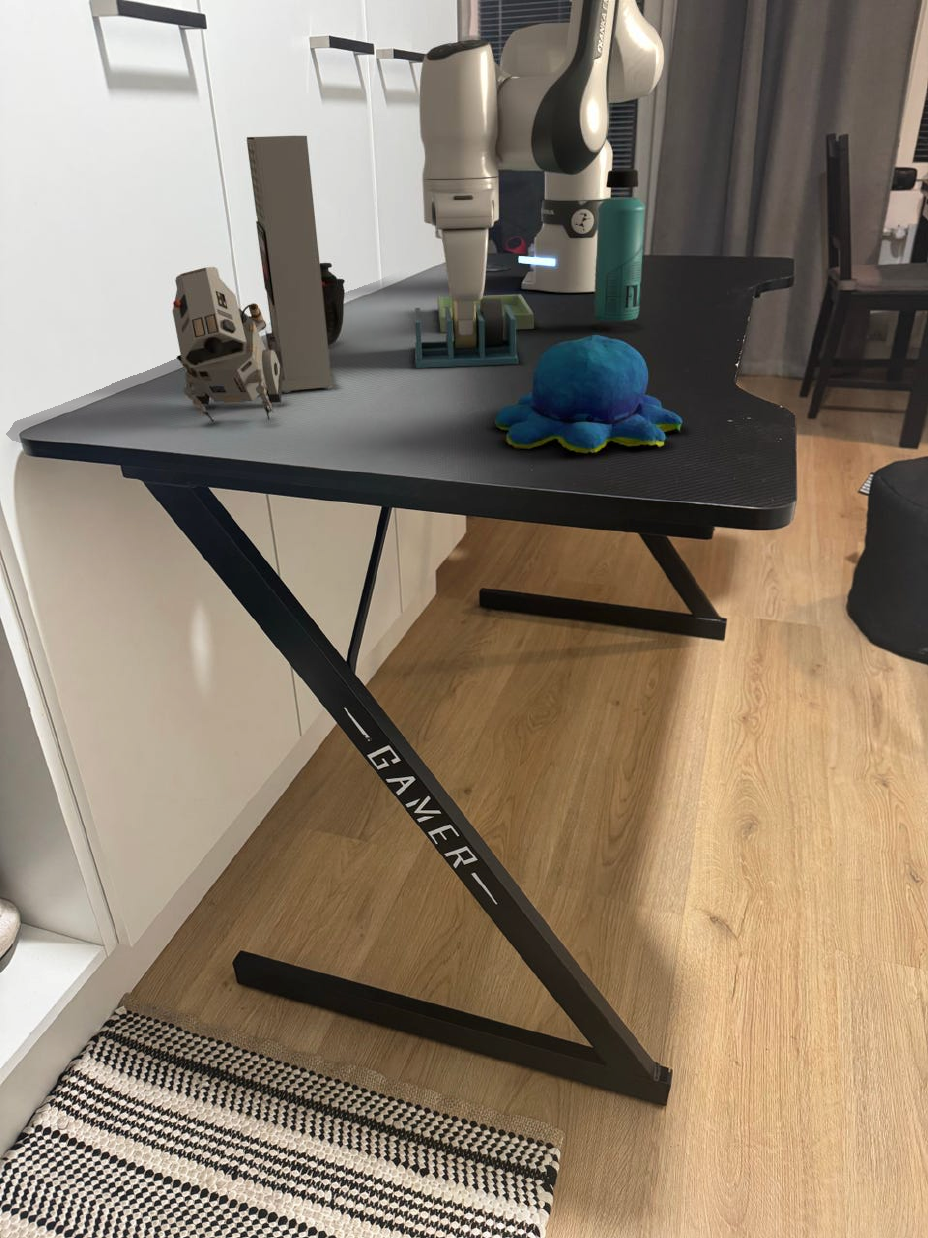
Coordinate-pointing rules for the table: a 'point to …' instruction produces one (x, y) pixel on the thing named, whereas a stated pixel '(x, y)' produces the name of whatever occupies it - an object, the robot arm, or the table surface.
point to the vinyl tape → (492, 321)
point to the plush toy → (588, 400)
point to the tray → (513, 301)
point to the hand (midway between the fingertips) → (464, 327)
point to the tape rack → (479, 356)
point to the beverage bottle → (619, 251)
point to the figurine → (222, 344)
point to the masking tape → (459, 339)
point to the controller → (332, 302)
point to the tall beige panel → (290, 259)
